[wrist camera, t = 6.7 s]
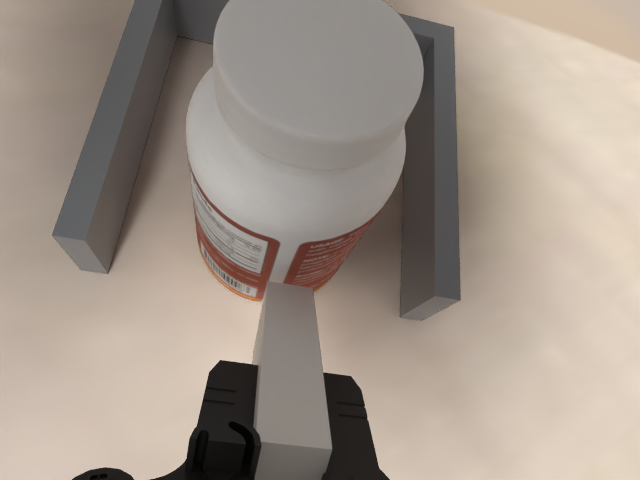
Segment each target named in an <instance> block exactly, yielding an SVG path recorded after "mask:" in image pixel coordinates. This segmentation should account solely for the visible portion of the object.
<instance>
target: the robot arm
mask: <svg viewBox="0 0 640 480" xmlns="http://www.w3.org/2000/svg"><path fill="white" fill-rule="evenodd" d="M364 406H365V404H364V400H363V395H362V391H361V389H360V388H359V386H358V385H357V384H356V382H355V381H354V380H353V378H352V377H351V376H345V375H338V374H330V373H323V368H322V360H321V351H320V343H319V335H318V327H317V318H316V310H315V302H314V293H313V288H309V287H302V286H296V285H290V284H284V283H277V282H271V281H267V285H266V290H265V295H264V300H263V305H262V310H261V315H260V320H259V325H258V330H257V336H256V341H255V346H254V351H253V360H252V364H245V363H237V362H230V361H222V360H220V361H219V362H218V363H217V364H216V365H215V367H214V368H213V369H212V370H211V371H210V372H209V376H208V380H207V385H206V389H205V393H204V398H203V402H202V406H201V411H200V415H199V419H198V424H197V427H196V428H195V429H194V431H193V433H192V435H191V437H190V439H189V446H188V453H187V459H186V461H185V462H184V463H183V464H182V465H181V466H180V467H179V468H177V469H176V470H175V471H173V472H171V473H169V474H167V475H165V476H162V477H159V478H155V479H151V480H390V479H389V478H388V477H387V476H386V475H385V474H384V473H383V472H382V471H381V470H380V469H379V466H378V462H377V457H376V453H375V448H374V444H373V440H372V435H371V431H370V426H369V422H368V420H367V413H366V409H365V408H364ZM72 480H134V479H133V477H132V476H131V475H129V474H127V473H126V472H124V471H122V470H120V469H114V468H106V467H105V468H99V469H94V470H89V471H87V472H85V473H83V474H81V475H79V476H77V477H75V478H73V479H72Z"/></svg>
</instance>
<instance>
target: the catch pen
mask: <svg viewBox="0 0 640 480" xmlns="http://www.w3.org/2000/svg"><path fill="white" fill-rule="evenodd" d="M229 1H230V0H135V2H134V5H133V8H132V11H131V13H130V16H129V19H128V22H127V25H126V27H125V30H124V33H123V36H122V39H121V42H120V44H119V47H118V50H117V53H116V56H115V59H114V61H113V64H112V67H111V70H110V73H109V76H108V78H107V81H106V84H105V87H104V90H103V93H102V95H101V98H100V101H99V104H98V107H97V110H96V112H95V115H94V118H93V121H92V124H91V126H90V129H89V132H88V135H87V138H86V141H85V143H84V146H83V149H82V152H81V155H80V158H79V160H78V163H77V166H76V169H75V172H74V175H73V177H72V180H71V183H70V186H69V189H68V192H67V194H66V197H65V200H64V203H63V206H62V209H61V211H60V214H59V217H58V220H57V223H56V225H55V228H54V231H53V234H52V236H53V237H54V239H55V240H56V241H57V242H58V243H59V245H60V246H61V247H62V248H63V249H64V250H65V252H66V253H67V254H68V255H69V256H70V258H71V259H72V260H73V261H74V262H75V263H76V265H77V266H78V267H79V268H80V269H81V270H86V271H93V272H99V273H106V274H108V272H109V268H110V265H111V261H112V258H113V254H114V251H115V248H116V244H117V241H118V237H119V234H120V230H121V227H122V224H123V220H124V217H125V213H126V210H127V206H128V203H129V200H130V196H131V193H132V189H133V186H134V182H135V179H136V175H137V172H138V169H139V165H140V162H141V158H142V155H143V151H144V148H145V145H146V141H147V138H148V134H149V131H150V127H151V124H152V121H153V117H154V114H155V110H156V107H157V103H158V100H159V97H160V93H161V90H162V86H163V83H164V79H165V76H166V72H167V69H168V66H169V62H170V59H171V55H172V52H173V48H174V45H175V42H176V38H177V36H180V37H184V38H189V39H193V40H197V41H202V42H206V43H211V44H213V40H214V33H215V28H216V24H217V21H218V19H219V17H220V14H221V12H222V10H223V9H224V7H225V6H226V4H227V3H228V2H229ZM398 14H399V13H398ZM399 15H400V16H401V18H402V19H403V20H404V21H405V23H406V24H407V25H408V27H409V28H410V30H411V31H412V33H413V35H414V37H415V39H416V41H417V43H418V45H419V48H420V51H421V55H422V59H423V67H424V74H423V84H422V88H421V92H420V96H419V99H418V101H417V103H416V105H415V107H414V108H413V110H412V112H411V114H410V115H409V117H408V119H407V121H406V123H405V138H406V153H405V160H404V191H403V226H402V261H401V297H400V317H401V318H408V319H415V320H421V321H422V320H424V319H426V318H428V317H430V316H431V315H433V314H435V313H437V312H439V311H441V310H443V309H445V308H447V307H449V306H450V305H452V304H454V303H456V302H458V301H460V300H461V298H460V257H459V216H458V175H457V134H456V93H455V52H454V27H450V26H446V25H442V24H439V23H435V22H431V21H427V20H423V19H419V18H415V17H411V16H407V15H403V14H399Z"/></svg>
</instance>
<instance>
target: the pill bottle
mask: <svg viewBox="0 0 640 480" xmlns="http://www.w3.org/2000/svg"><path fill="white" fill-rule="evenodd" d="M423 74H424V67H423V59H422V55H421V51H420V48H419V45H418V43H417V41H416V39H415V37H414V35H413V33H412V31H411V30H410V28H409V27H408V25H407V24H406V23H405V21H404V20H403V19H402V18H401V16H400V15H399V14H398V13H397V12H396V11H395V10H394V9H393V8H392V7H391V6H389V5H388V4H387V3H386V2H384V1H383V0H230V1H229V2H228V3H227V4H226V6H225V7H224V9H223V10H222V12H221V14H220V17H219V19H218V21H217V24H216V28H215V33H214V40H213V66H212V67H211V68H210V69H209V70H208V71H207V72H206V73H205V75H204V76H203V77H202V79H201V80H200V82H199V84H198V85H197V87H196V89H195V91H194V93H193V95H192V98H191V100H190V103H189V107H188V111H187V117H186V128H185V130H186V144H187V146H186V147H187V155H188V163H189V169H190V177H191V187H192V194H193V204H194V212H195V221H196V230H197V238H198V244H199V248H200V252H201V255H202V258H203V260H204V263H205V265H206V267H207V268H208V270H209V272H210V273H211V275H212V276H213V277H214V278H215V279H216V280H217V281H218V283H219V284H220V285H221V286H223V287H224V288H225V289H226V290H228V291H229V292H231V293H232V294H234V295H236V296H237V297H239V298H241V299H244V300H247V301H250V302H253V303H258V304H263V300H264V295H265V290H266V285H267V281H271V282H277V283H284V284H290V285H296V286H302V287H309V288H313V293H315V292H316V291H318V290H319V289H320V288H321V287H323V286H324V285H325V284H326V283H327V282H328V281H329V280H330V279H331V277H332V276H333V275H334V274H335V272H336V271H337V270H338V268H339V267H340V266H341V264H342V263H343V261H344V260H345V258H346V257H347V256H348V254H349V253H350V251H351V250H352V249H353V247H354V246H355V245H356V243H357V242H358V240H359V239H360V238H361V236H362V235H363V233H364V232H365V231H366V229H367V228H368V227H369V225H370V224H371V223H372V221H373V220H374V218H375V217H376V216H377V214H378V213H379V212H380V210H381V209H382V207H383V206H384V205H385V203H386V202H387V200H388V198H389V197H390V195H391V194H392V192H393V190H394V188H395V187H396V184H397V182H398V180H399V178H400V175H401V172H402V169H403V165H404V160H405V153H406V138H405V129H404V126H405V123H406V121H407V119H408V117H409V115H410V114H411V112H412V110H413V108H414V107H415V105H416V103H417V101H418V99H419V96H420V92H421V88H422V84H423Z"/></svg>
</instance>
